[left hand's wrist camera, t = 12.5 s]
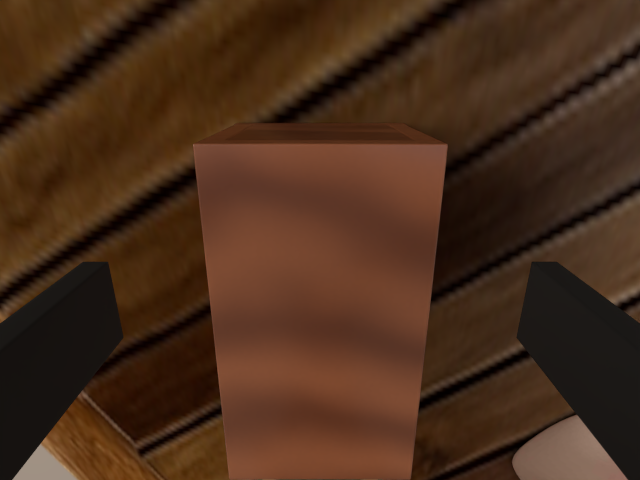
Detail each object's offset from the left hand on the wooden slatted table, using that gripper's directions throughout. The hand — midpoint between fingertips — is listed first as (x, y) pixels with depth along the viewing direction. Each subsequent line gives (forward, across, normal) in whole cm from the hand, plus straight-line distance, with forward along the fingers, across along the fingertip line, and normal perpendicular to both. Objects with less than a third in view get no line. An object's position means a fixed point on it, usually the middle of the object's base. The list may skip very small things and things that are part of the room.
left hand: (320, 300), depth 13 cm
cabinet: (+15, 0, -5) cm, 16 cm away
